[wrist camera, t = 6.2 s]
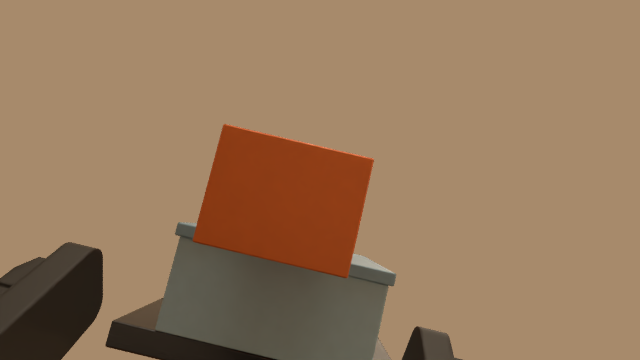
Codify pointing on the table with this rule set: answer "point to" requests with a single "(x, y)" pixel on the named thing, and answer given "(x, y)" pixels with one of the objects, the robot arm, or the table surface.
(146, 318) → the shelf stand
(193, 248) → the storage tub
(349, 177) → the orange rectangular bar
